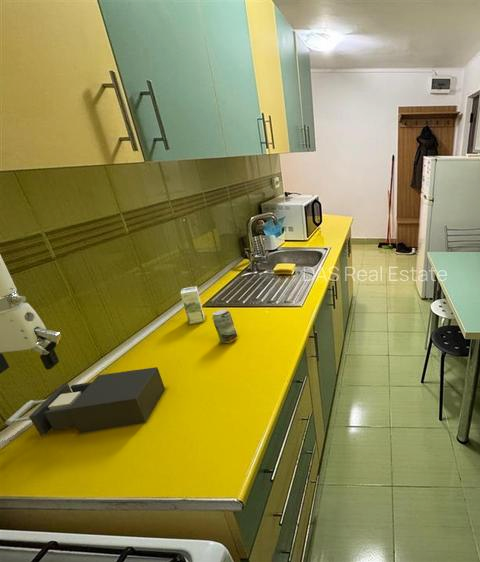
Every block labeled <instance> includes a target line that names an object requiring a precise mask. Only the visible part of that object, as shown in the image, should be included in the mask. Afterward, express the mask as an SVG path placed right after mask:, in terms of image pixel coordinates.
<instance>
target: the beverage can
mask: <svg viewBox="0 0 480 562" xmlns="http://www.w3.org/2000/svg"><path fill="white" fill-rule="evenodd" d="M211 319H212V323H213V324H214V327H215V330H216V333H217V336H218V338H219V339H218V340H219V342H220V343H224V344H227V343H231V342H233V341H235V340H236V338H237V337H238V333H237V329H236V327H235V323H234V321H233V317H232V314H231V312H230V311H229V310H228V309H227V308H224V309H223V308H222V309H219V310H216V311H214V312H213V313H212V317H211Z"/></svg>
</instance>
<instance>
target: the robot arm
mask: <svg viewBox="0 0 480 562" xmlns="http://www.w3.org/2000/svg"><path fill="white" fill-rule="evenodd" d="M26 301H27V297H26V296H25V295H20V293H19V290H18V289H17V287H16V285H15V282H14V280H13V278H12V276H11V274H10V272H9V270H8V267H7V266H6V264H5V261H4V259H3V257H2V255H1V254H0V375H1V374H2V373H4V372H5V371H7V370H8V369H9V368H10V365H9V363H8V361H7V360H6V358H5V356H4V354H3V353H11V352H20V351H29V350H34V351H35V352H37V353H39V354H41V355H39V357H40V360H41V362H42V364H43V367H44V369H45V370H51V369H53V368H54V367H55V366H56V365H58V364H59V362H60V360H59V357H58V355H57V352H56V351H55V349H56V348H57V347H58V345H59V344H60V343H61V338H62V333H61V332H60V331H56V330H51V329H47V327H46V325H45V324H44V322H43V321H42V319H41V317H40V316H39V314H38V313H37V312H36V310H35V309H34V308H33V306H31V305H30V304H29V302H26ZM48 339H49V340H48ZM43 346H44V347H43Z"/></svg>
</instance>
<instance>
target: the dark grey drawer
mask: <svg viewBox="0 0 480 562" xmlns="http://www.w3.org/2000/svg"><path fill="white" fill-rule="evenodd" d="M92 382H93V381H90V382H83V383H76V384H71V385H70V384H68V383H62V384H61V385H60V386H59V387H58V388H57V389H55V391H54V392H53V393H52V394H51V395H50V396H49V397H48V398H47V399H40V400H34V399H29V400H30V401H29V400H28V401H29V402H28V401H26V403H25V404H23V406H21V407H20V408H19V409H18V410H17V411H16V412H14V413H13V414H12V415H11V416H10V417H9V418H8V419H7V420H5V422H4V424H5V425H6V426H12V425H13V424H15V423H21V422H27V421H31V423H32V425H33V427H34V428H35V430H36V431H37V433H38V435H39V436H47V434H48V433H49V432H50V431H51V430H53V431H59V430H66V429H71V428H77V427H76V425H75V423H74V421H73V419H72V417H71V416H70V414H69V411H68V410H67V409H68V408H69V407H67V408H60V409H54V410H49V408H48V406H49V405H50V404H51V403H52V402H53V401H54V400H55V399H56V398H57V397H58V396H59V395H60V394H66V393H73V392H80V391H81V393H83V391H84V390H85V389H86V388H87V387H88V386H89V385H90V384H91V383H92ZM39 404H40V405H39ZM34 405H39V406H38V407H37V408H36V409H35V410H34V411H32V413H31V414H30V415H29V416H26V417H25V416H24V417H22V416H23V415H24V414H25V413H26V412H27V411H28V410H29V409H30V408H32V407H33V406H34Z"/></svg>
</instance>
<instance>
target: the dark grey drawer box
mask: <svg viewBox="0 0 480 562" xmlns="http://www.w3.org/2000/svg"><path fill="white" fill-rule="evenodd" d="M160 373H161V372H160V370H159V368H158V366H155V367H148V368H141V369H133V370H126V371H120V372H119V371H118V372H111V373H104V374H99V375H97V377H96V378H94V379H93V381H91V382H92V383H91V384H90V385H89V386H88V387H87V388H86V389H85V390H84V391H83V393H82V394H81V395H80V396H79V397H78V398H77V399H76V400H75V401H74V402H73V403H72V404H71V406H70V407H69V408H68V409H67V410H68V411H69V414H70V416H71V417H72V419H73V421H74V423H75V425H76V427H75V428H76V429H77V431H78V433H79V434H80V435H82V434H86V433H93V432H98V431H104V430H110V429H116V428H122V427H128V426H133V425H139V424H144V423H145V424H146V423H147V422H148V419H149V418H150V416H151V415H152V413H153V412H154V409H155V407H156V406H157V404H158V402H159V401H160V399H161V397H162V395H163V394H164V392H165V390H166V388H165V385H164V382H163V379H162V376H161V374H160Z"/></svg>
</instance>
